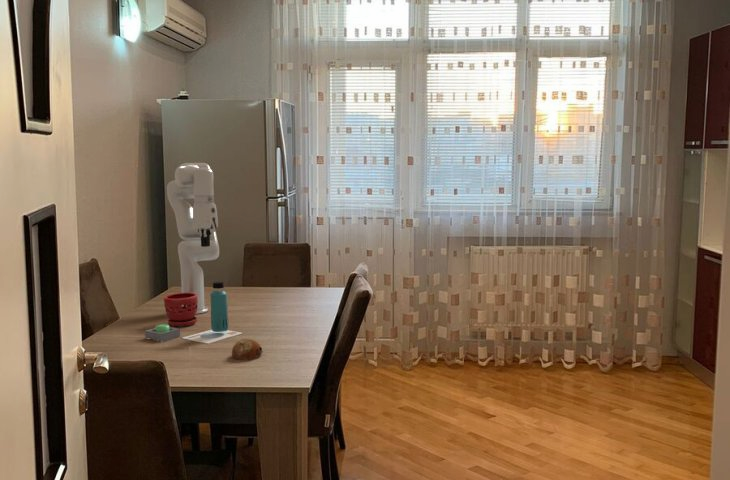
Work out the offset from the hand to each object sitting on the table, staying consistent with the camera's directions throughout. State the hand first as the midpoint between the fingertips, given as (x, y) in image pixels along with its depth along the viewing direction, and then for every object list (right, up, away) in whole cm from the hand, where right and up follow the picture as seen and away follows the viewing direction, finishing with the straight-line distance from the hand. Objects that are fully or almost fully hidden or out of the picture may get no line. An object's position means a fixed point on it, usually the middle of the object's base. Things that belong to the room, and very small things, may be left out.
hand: (205, 246), depth 296 cm
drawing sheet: (+5, -34, -13) cm, 37 cm away
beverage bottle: (+8, -33, -11) cm, 36 cm away
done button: (-13, -34, -15) cm, 39 cm away
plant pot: (-11, -32, +7) cm, 34 cm away
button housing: (-13, -34, -15) cm, 39 cm away
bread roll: (+23, -38, -40) cm, 60 cm away
